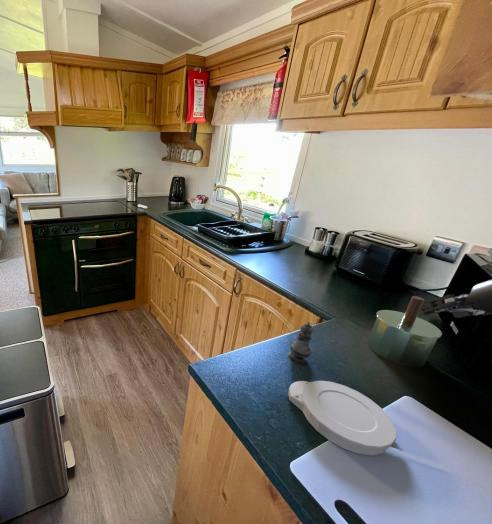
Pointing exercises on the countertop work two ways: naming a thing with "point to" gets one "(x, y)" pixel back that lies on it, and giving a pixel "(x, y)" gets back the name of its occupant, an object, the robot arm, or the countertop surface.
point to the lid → (344, 416)
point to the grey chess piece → (301, 345)
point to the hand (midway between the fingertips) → (438, 312)
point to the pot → (399, 345)
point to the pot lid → (410, 320)
